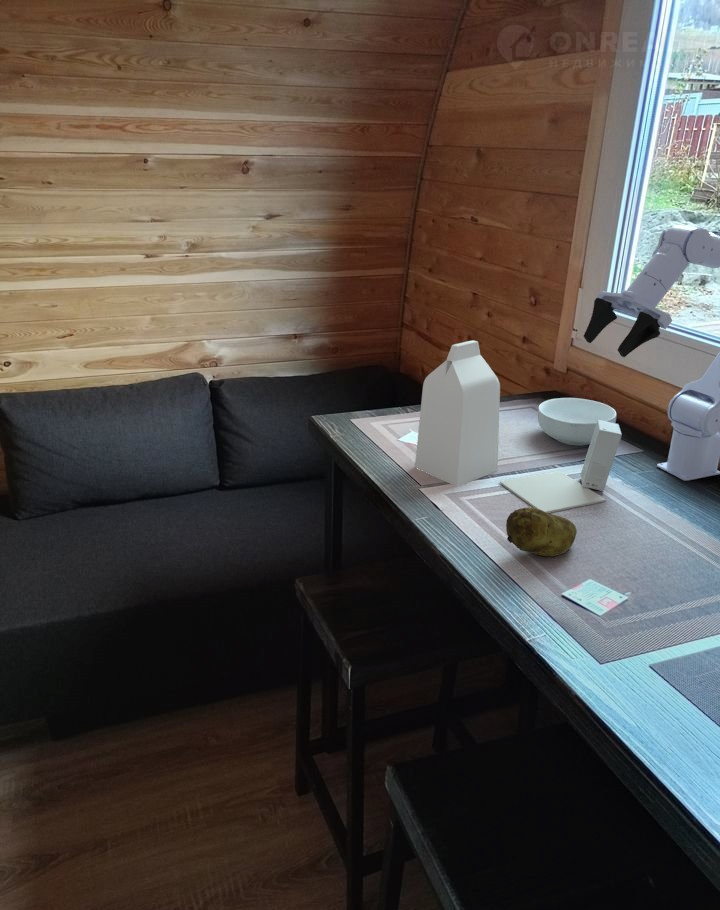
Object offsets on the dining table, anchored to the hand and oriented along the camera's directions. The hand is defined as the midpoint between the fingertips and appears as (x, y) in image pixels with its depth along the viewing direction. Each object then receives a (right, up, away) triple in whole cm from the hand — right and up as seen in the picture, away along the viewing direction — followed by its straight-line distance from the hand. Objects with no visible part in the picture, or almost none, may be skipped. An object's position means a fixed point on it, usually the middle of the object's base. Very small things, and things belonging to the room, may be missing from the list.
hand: (603, 346), depth 134 cm
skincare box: (+3, -24, +16) cm, 29 cm away
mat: (-6, -26, +13) cm, 29 cm away
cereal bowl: (+5, -15, +39) cm, 42 cm away
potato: (-13, -35, -8) cm, 38 cm away
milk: (-23, -22, +22) cm, 38 cm away
